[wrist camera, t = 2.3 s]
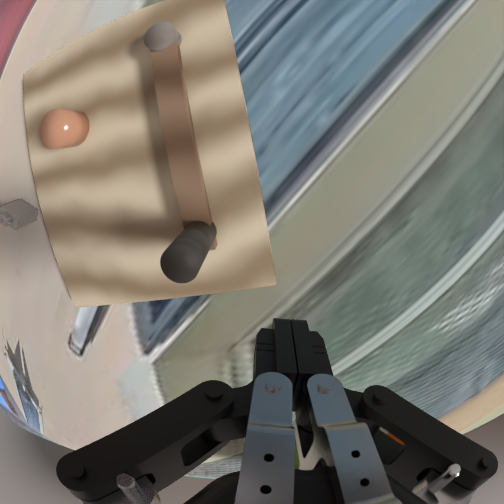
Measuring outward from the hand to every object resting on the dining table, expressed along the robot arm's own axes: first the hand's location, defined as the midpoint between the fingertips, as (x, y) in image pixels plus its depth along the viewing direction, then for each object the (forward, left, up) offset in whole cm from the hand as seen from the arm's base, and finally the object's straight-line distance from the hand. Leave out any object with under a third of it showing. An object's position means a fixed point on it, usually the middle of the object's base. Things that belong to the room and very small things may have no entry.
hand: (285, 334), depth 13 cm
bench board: (-11, -13, -18) cm, 24 cm away
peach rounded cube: (-15, -18, -15) cm, 29 cm away
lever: (-11, -6, -15) cm, 20 cm away
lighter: (-10, -32, -18) cm, 38 cm away
